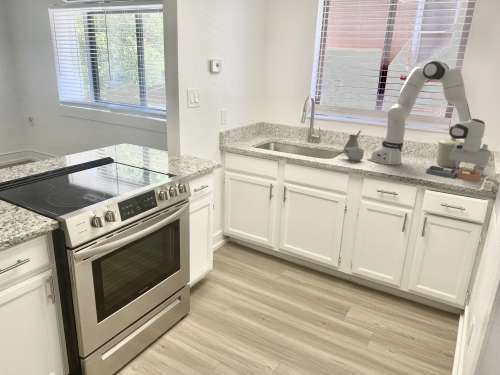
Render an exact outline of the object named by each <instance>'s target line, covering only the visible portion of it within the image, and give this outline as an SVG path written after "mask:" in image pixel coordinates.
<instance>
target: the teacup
mask: <svg viewBox="0 0 500 375" xmlns="http://www.w3.org/2000/svg"><path fill="white" fill-rule="evenodd" d="M345 149H347V151H348V153H346V151H345ZM342 151H343V153H344V155H345V156H346V157H347V159H348V160H349V161H352V162H360V161H361V160H363V158H364V154H365V149H364V148H360V147H359V148H356V147H351V148H343V150H342Z"/></svg>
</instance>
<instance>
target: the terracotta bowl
mask: <svg viewBox="0 0 500 375" xmlns="http://www.w3.org/2000/svg"><path fill="white" fill-rule="evenodd" d="M463 171H465V172H470V174H465V173H462V172H463ZM481 175H482V174H481V173H479V172H476V171H473V169H472V170H470V169H458V171H457V174H456V178H458V179H460V180H462V181H467V182H480V181H481V178H482V176H481Z"/></svg>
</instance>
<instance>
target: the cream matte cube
mask: <svg viewBox="0 0 500 375" xmlns="http://www.w3.org/2000/svg"><path fill="white" fill-rule="evenodd" d="M443 168H444V169H443V172H444V173H449V174H451V173H452V169H453V168H447V167H443Z"/></svg>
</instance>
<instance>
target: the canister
mask: <svg viewBox="0 0 500 375" xmlns="http://www.w3.org/2000/svg"><path fill="white" fill-rule="evenodd" d="M458 143H464V141H463V140H461V139H454V138H452V137H451V136H450V138H441V139H440V140H437V151H436V152H437V154H436V165H437V166H438V167H443V168H448V169H457V168H456V163H455V161H456V160H450V154H451V152H452V150H453V149H454V148H455V145H456V144H458ZM458 165H461V161H458Z"/></svg>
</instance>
